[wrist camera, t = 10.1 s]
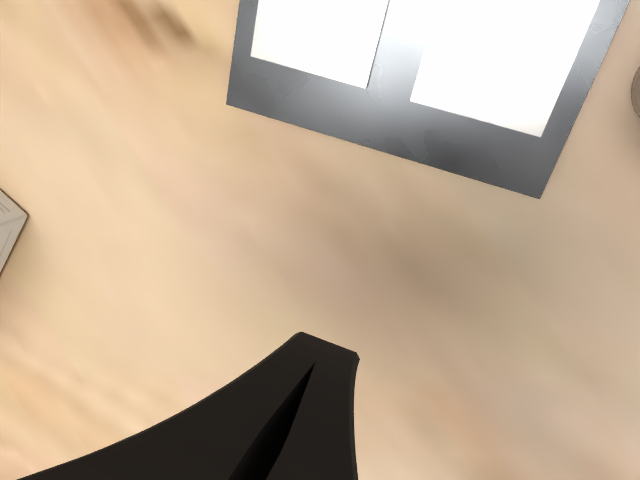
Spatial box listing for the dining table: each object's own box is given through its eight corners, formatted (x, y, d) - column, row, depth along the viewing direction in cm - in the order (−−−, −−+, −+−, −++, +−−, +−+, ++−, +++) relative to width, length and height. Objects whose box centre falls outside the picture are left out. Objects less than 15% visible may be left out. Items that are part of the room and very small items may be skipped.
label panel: (697, -156, 13) (705, -163, 12) (538, 196, 17) (539, 200, 17) (273, -226, 15) (267, -234, 14) (229, 103, 19) (223, 105, 19)
